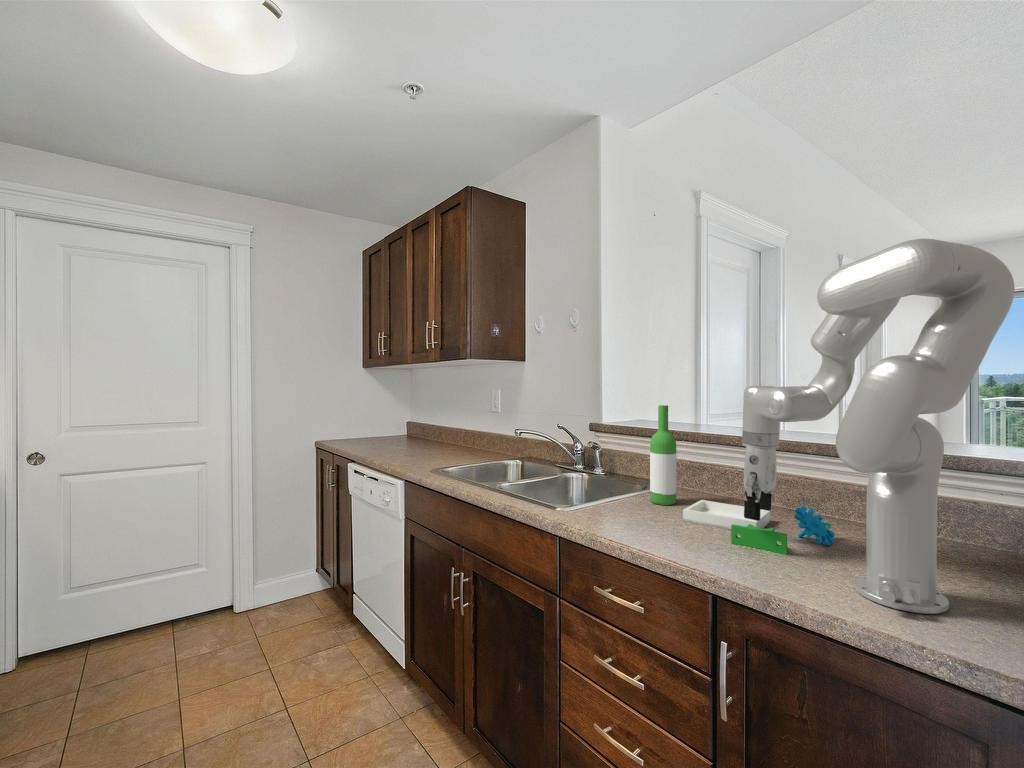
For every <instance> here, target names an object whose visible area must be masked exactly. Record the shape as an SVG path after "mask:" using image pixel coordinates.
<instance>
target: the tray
mask: <svg viewBox="0 0 1024 768" xmlns="http://www.w3.org/2000/svg"><path fill="white" fill-rule="evenodd" d="M682 521H684V522H689V523H693V524H697V525H698V524H699V525H703V526H709V527H714V528H719V529H724V530H725V529H726V530H730V531H731V525H732V524H734V525H740V526H745V527H747V526H748V525H749V524H752V525H753V526H754V527H757V528H763V529H765V527H766V526H767V525H768V524H770V522H771V510H770V511H767V510H762V509H761V511H760V520H759V521H757V520H752V519H747V518H745V517H744V505H739V504H738V505H737V504H730V503H724V502H717V501H711V500H705V499H701V500H699V501H696V502H695V503H692V504H691V505H689V506H687V507H685V508H683V509H682Z"/></svg>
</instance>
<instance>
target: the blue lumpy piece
mask: <svg viewBox="0 0 1024 768" xmlns="http://www.w3.org/2000/svg"><path fill="white" fill-rule="evenodd" d="M794 512H795V514H794V516H793V518H794V519H795V520H797V521H799V522H797V526H798V528H799V529H803V530H802V531H800V532H799V533H797V537H798V538H799V539H800V538H801V539H802V538H804V536H806V537H807V538H810V537H812V536H814V537H815V538H814V539H813V541H814V543H816V544H818V545H820V544H822V545H823V546H826V547H829V546H830V545H832V544H833V543H835V542H836V540H835V538H834V537H835V536H836V535H835V532H834V531H832V530H830V529H831V527H832V526H833V523H832V522H831V521H829V520H828V521H827V522H824V521H822V520H824V517H823V515H822V514H820V513H818V514H817V515H816V516H815V515H814V513H815V512H816V511H815V510H814V509H813V508H811V507H809V508H808V509H807V507H806V506H804V505H801V506H800V507H797V508H796V509H794Z"/></svg>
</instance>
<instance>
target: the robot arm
mask: <svg viewBox="0 0 1024 768" xmlns="http://www.w3.org/2000/svg"><path fill="white" fill-rule="evenodd" d="M1015 289H1016V288H1015V282H1014V277H1013V274H1012V273H1011V270H1010V269H1009V268H1008V266H1007V265H1006V264H1005V263H1004V262H1003V261H1002V260H1001V259H999V258H998V257H997V256H995V255H994V254H993V253H991V252H989V251H986V250H984V249H982V248H979V247H976V246H973V245H969V244H963V243H958V242H953V241H952V242H951V241H946V240H942V239H941V240H940V239H936V238H917V239H915V238H914V239H910V240H905V241H902V242H899V243H896V244H894V245H892V246H889V247H886V248H884V249H883V250H879V251H878V252H875V253H872V254H870V255H867V256H865V257H862V258H859V259H857V260H854V261H853V262H850V263H848V264H845V265H843V266H841V267H839V268H837V269H835V270H834V271H832V272H830V273H829V274H828V275H827V276H826V278H824V279H823V280H822V282H821V284H820V285H819V287H818V290H817V295H816V299H817V303H818V306H819V307H820V309H821V310H822V311H824V312H825V313H826V315H825V317H824V319H823V320H822V321H821V323H820V324H819V326H818V327H817V329H816V330H815V331H814V332H813V334H812V336H811V338H810V345H811V346H812V348H813V349H814V350H815V351H816V352H817V353H819V354H820V355H821V364H820V368H819V369H818V371H817V373H816V374H815V376H814V377H813V378H812V380H811V381H810V382H809V384H808V385H803V386H802V385H798V386H797V385H796V386H793V385H791V386H774V385H772V386H771V385H749V386H747V387H745V388H744V391H743V404H742V405H743V407H742V411H743V412H742V432H741V433H742V434H741V446H743V447H745V454H744V456H745V457H744V468H743V487H744V490H745V491H744V500H743V501H744V505H743V506H744V517H745V518H747V519H752V520H757V521H759V520H760V511H761V509H762V510H767V511H770V512H771V510H772V496H773V495H772V490H774V488H776V487H777V480H778V479H777V478H778V477H777V475H778V474H777V473H778V472H777V449H779V448H780V431H781V430H780V429H781V428H780V427H781V423H794V422H795V423H797V422H812V421H819V420H822V419H824V418H825V417H827V416H828V415H829V414H831V412H833V410H834V409H836V407H837V405H839V404H840V402H841V401H842V399H843V398H844V397H845V396H846V394H847V393H848V391H849V390H850V387H851V386H852V383H853V379H854V374H855V369H856V368H855V365H856V359H857V358H858V357H859V355H860V354H861V352H862V351H863V350H864V348H865V347H866V346H867V345H868V344H869V342H870V341H871V339H872V337H874V335H875V334H876V333H877V332H878V330H879V329H880V328H881V327H882V325H883V323H884V322H886V320H887V318H888V317H889V316H890V314H891V313H892V312H893V311H894V310H895V308H896V306H897V305H898V304H899V302H900V300H901V298H905V297H908V296H920V297H921V296H922V297H927V298H928V297H930V298H938V299H940V300H941V301H940V302H941V303H940V306H939V307H938V309H936V310H935V312H934V313H932V315H931V316H930V317H929V318H928V319H927V321H926V322H925V324H924V325H923V327H922V329H921V331H920V333H919V335H918V337H917V339H916V342H915V343H914V345H913V347H912V349H911V351H910V352H909V353H908V354H902V355H901V354H900V355H899V354H898V355H894V356H893V355H891V356H888V357H885V358H881V359H880V360H878V361H877V362H875V363H874V364H873V365H871V366H870V367H869V368H868V369H867V370H865V372H864V374H863V375H862V376H861V379H860V381H859V382H858V385H857V387H856V388H855V391H854V393H853V395H852V397H851V399H850V403H849V404H848V406H847V409H846V410H845V413H844V416H843V418H842V420H841V422H840V424H839V426H838V429H837V433H836V436H835V449H836V454H837V455H838V457H839V459H840V460H841V462H842V463H843V464H844V465H846V467H848V468H849V469H851V470H853V471H855V472H858V473H861V474H867V475H868V474H869V477H868V482H867V488H866V502H865V503H866V507H865V508H866V510H865V511H866V515H865V517H866V518H865V520H866V522H865V524H866V525H865V528H866V529H865V532H866V533H865V535H866V536H865V537H866V539H865V541H866V542H865V550H866V551H865V559H866V560H865V562H866V563H865V576H861V577H860V578H857V579H856V580H855V589H856V591H857V592H858V593H859V594H860V595H861V596H863V597H864V598H866V599H868V600H870V601H871V602H875V603H876V604H879V605H882V606H886V607H888V608H890V609H891V608H893V609H895V610H898V611H899V610H900V611H902V612H903V611H904V612H910V613H916V614H923V615H926V614H927V615H933V614H935V615H936V614H942V613H946V612H947V611H949V609H950V601H949V599H948V598H947V597H946V596H945V595H943V594H942V592H939V591H938V590H937V588H938V586H937V584H938V583H937V580H938V579H937V577H938V575H937V574H938V571H937V569H938V567H937V565H938V562H937V560H938V559H937V557H938V554H937V553H938V494H939V493H938V492H939V482H940V475H941V471H942V467H943V461H944V454H945V444H944V439H943V436H942V435H941V433H940V431H939V430H938V429H937V427H936V426H935V425H933V423H931V422H930V421H928V420H926V419H924V418H923V417H922V418H921V417H920V416H919V415H933V414H940V413H944V412H947V411H950V410H952V409H954V408H955V407H957V405H959V404H960V402H961V401H962V399H963V398H964V396H965V394H966V392H967V390H968V388H969V386H970V384H971V383H972V380H973V378H974V377H975V375H976V373H977V372H978V369H979V367H980V366H981V364H982V362H983V360H984V358H985V357H986V354H987V353H988V350H989V348H990V346H991V344H992V342H993V340H994V339H995V337H996V335H997V333H998V331H999V329H1000V328H1001V326H1002V325H1003V323H1004V322H1005V319H1006V317H1007V315H1008V314H1009V312H1010V310H1011V308H1012V305H1013V301H1014V298H1015Z"/></svg>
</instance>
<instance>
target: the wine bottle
mask: <svg viewBox="0 0 1024 768" xmlns="http://www.w3.org/2000/svg"><path fill="white" fill-rule="evenodd" d="M657 409H658V410H657V411H658V412H657V414H658V415H657V416H658V417H657V420H658V421H657V431H656V432H655V433H654V434H653V435H652V436H651V438H650V443H649V444H650V445H649V454H650V455H649V497H650V502H652V503H653V504H656V505H660V506H670V505H674V504H675V503H676V502H677V442H676V439H675V437H674V435H673V434H672V433H671V432H670V431H669V406H668V404H660V405H658V408H657Z"/></svg>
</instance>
